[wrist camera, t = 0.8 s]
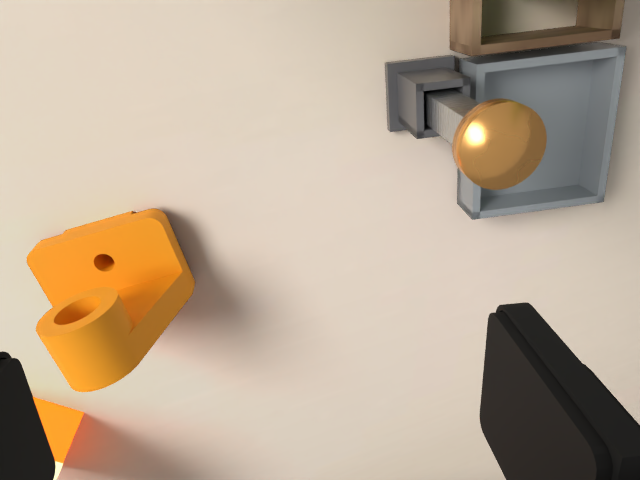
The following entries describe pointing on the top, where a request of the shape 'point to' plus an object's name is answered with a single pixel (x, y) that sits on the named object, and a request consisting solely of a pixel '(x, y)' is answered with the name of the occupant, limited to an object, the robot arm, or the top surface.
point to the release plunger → (488, 136)
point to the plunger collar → (418, 90)
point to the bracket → (109, 294)
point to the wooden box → (591, 25)
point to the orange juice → (58, 428)
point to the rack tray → (551, 123)
